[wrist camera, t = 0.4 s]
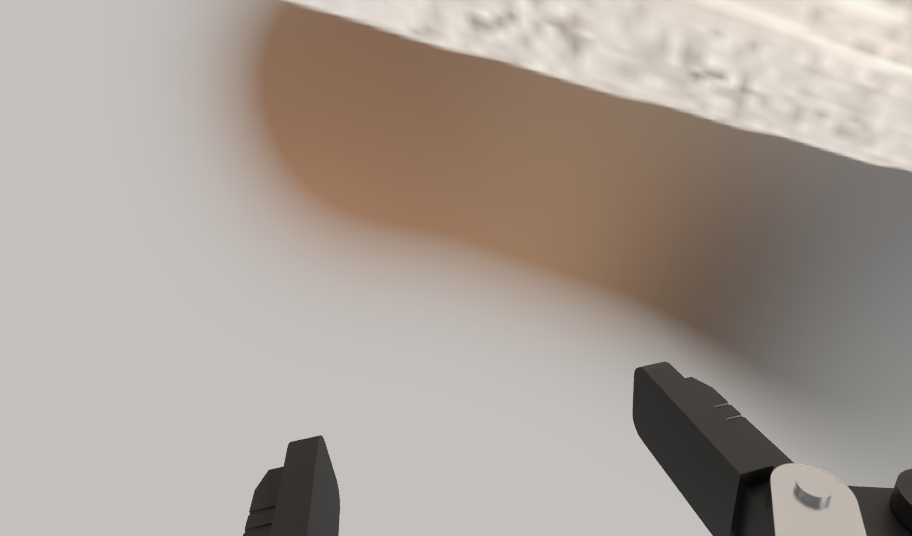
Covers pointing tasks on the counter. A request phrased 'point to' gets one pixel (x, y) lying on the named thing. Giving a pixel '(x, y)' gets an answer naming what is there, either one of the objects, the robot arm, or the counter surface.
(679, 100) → the counter surface
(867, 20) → the counter surface
